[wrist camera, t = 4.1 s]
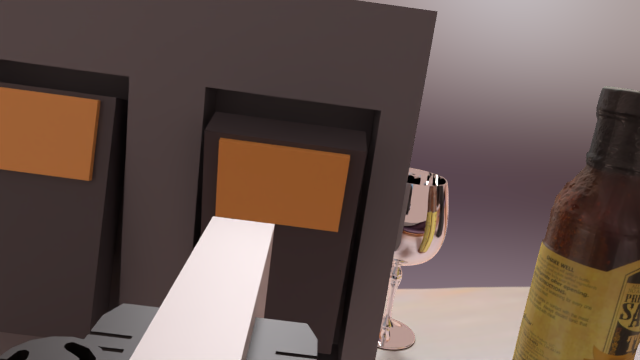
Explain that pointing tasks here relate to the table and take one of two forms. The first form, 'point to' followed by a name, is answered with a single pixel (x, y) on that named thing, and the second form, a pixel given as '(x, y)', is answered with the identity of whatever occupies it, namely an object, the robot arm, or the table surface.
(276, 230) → the panel
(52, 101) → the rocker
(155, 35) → the block
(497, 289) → the table surface
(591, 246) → the sauce bottle
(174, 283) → the robot arm
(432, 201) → the wineglass
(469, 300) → the table surface
